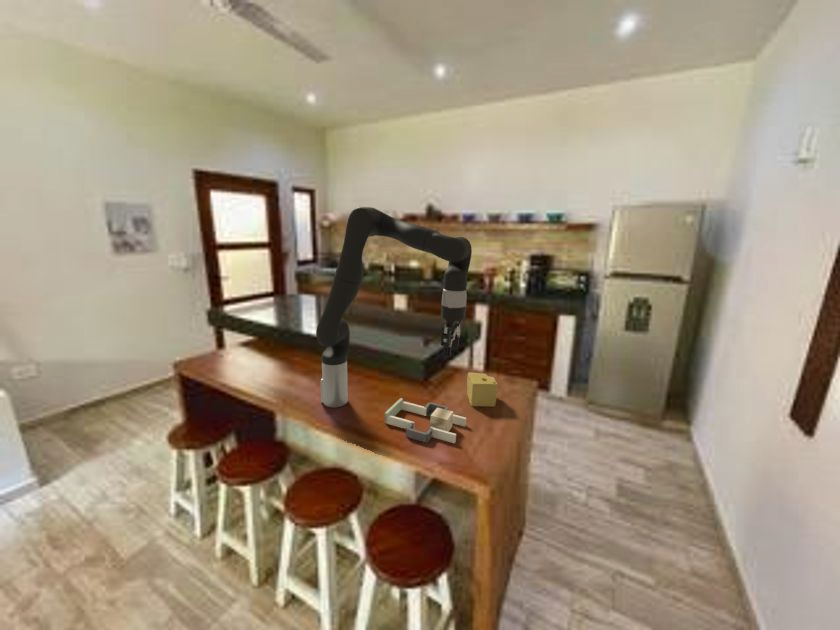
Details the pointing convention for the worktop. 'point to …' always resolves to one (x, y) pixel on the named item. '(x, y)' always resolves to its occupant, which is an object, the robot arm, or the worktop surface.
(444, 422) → the birch block
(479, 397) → the cheese
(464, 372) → the worktop surface
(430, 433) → the trap box
